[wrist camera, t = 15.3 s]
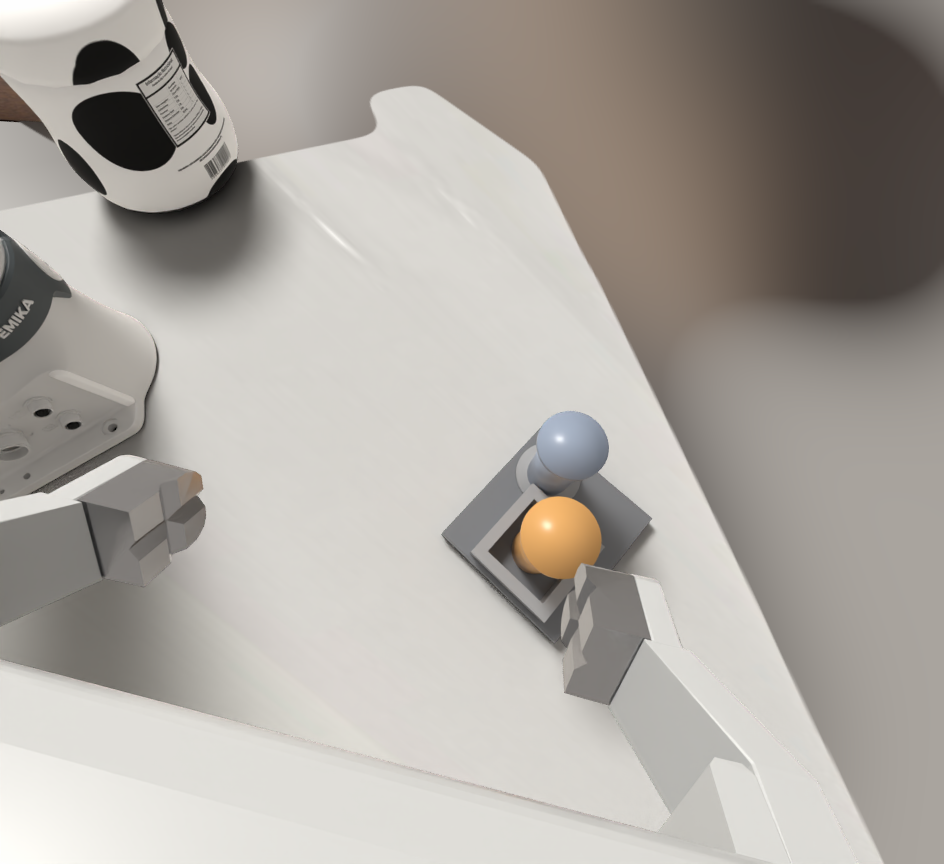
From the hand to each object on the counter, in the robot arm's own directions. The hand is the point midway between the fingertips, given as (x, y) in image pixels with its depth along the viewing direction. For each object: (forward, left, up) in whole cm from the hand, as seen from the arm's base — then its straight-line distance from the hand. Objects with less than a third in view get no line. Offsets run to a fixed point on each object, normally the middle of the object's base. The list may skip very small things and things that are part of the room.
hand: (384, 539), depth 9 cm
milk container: (+11, +56, -32) cm, 65 cm away
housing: (+9, -4, -31) cm, 33 cm away
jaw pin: (+7, -5, -30) cm, 31 cm away
